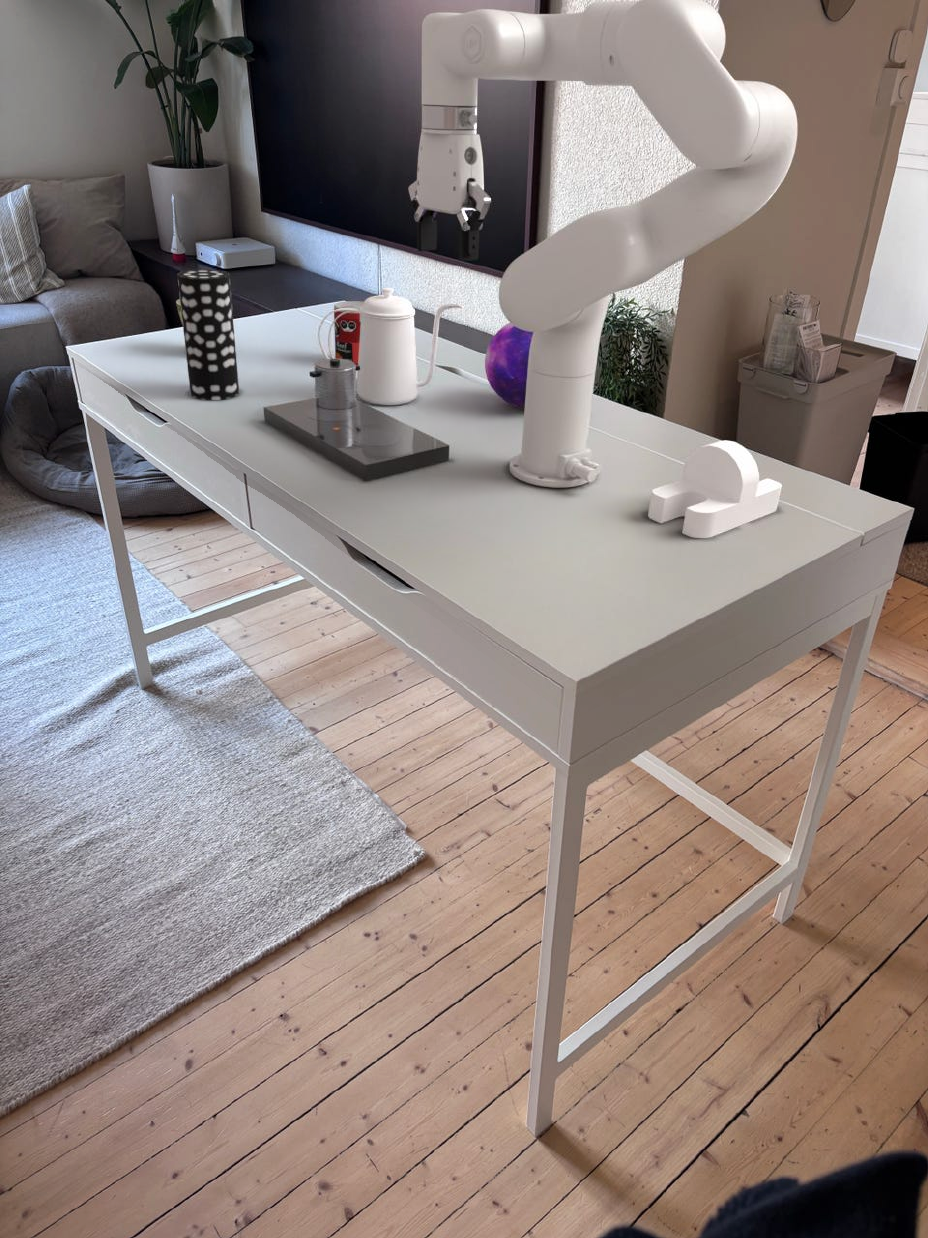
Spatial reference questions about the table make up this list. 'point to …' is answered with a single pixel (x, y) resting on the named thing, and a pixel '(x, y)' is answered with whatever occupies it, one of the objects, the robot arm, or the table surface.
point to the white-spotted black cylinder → (209, 333)
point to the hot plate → (357, 438)
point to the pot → (335, 383)
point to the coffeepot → (388, 349)
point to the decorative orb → (509, 363)
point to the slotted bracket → (716, 492)
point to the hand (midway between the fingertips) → (447, 254)
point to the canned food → (347, 331)
